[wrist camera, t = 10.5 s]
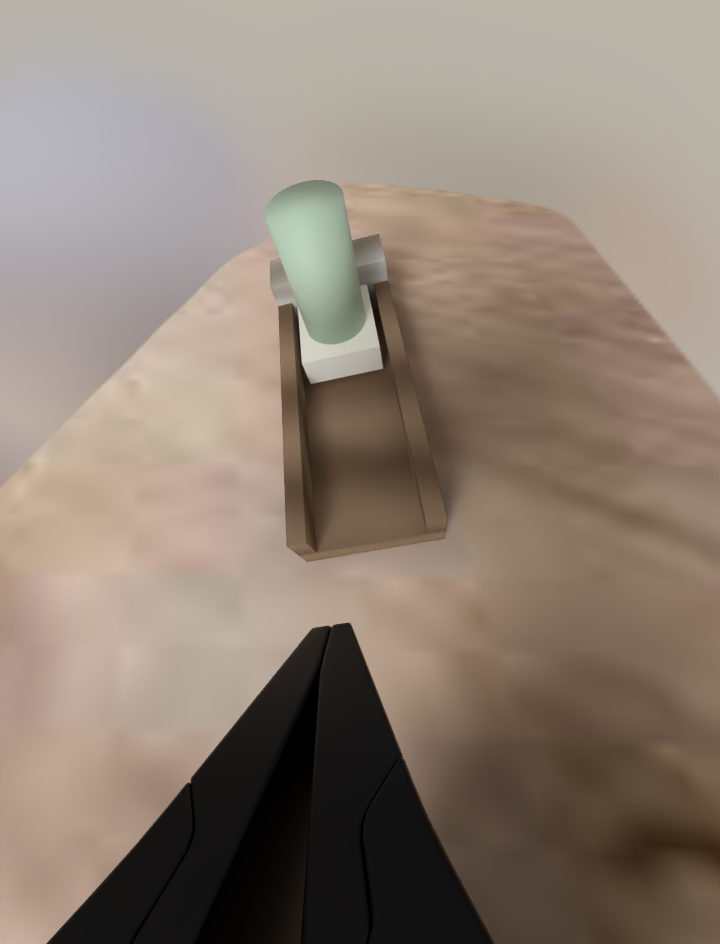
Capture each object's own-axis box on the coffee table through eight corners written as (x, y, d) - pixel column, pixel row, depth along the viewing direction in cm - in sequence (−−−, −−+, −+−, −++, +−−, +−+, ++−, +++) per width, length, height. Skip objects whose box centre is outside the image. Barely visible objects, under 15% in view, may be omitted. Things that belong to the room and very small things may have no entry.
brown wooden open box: (444, 538, 21) (448, 507, 16) (307, 561, 21) (275, 537, 17) (385, 293, 30) (378, 232, 26) (292, 315, 31) (270, 259, 26)
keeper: (383, 368, 24) (361, 226, 16) (310, 383, 25) (254, 253, 17) (370, 308, 27) (346, 160, 19) (305, 323, 28) (254, 184, 19)
